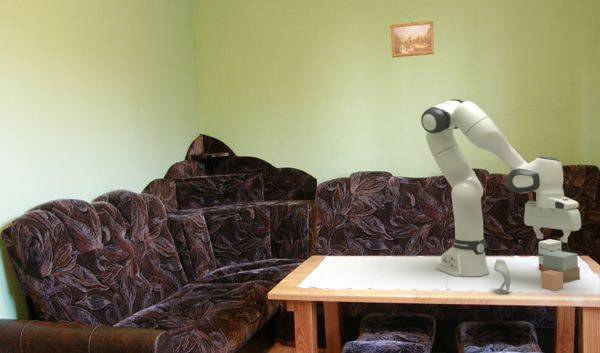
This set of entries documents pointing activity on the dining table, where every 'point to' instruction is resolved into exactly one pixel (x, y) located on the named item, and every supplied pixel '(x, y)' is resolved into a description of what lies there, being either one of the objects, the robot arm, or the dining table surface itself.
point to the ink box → (547, 249)
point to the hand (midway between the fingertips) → (551, 240)
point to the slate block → (560, 260)
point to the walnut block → (567, 274)
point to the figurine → (503, 269)
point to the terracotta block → (552, 280)
